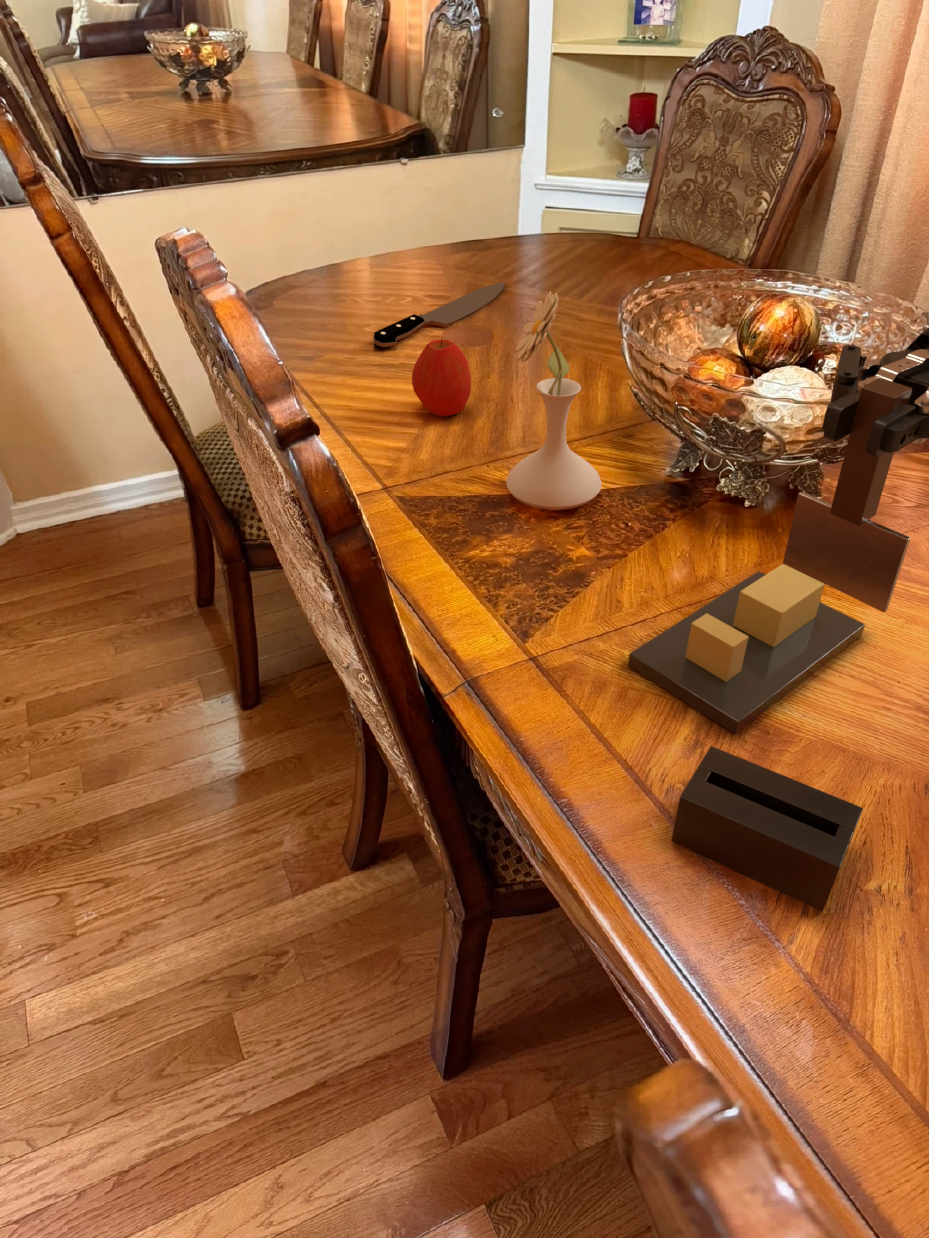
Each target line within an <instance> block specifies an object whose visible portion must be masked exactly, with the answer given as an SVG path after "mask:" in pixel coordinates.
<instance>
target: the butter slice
mask: <svg viewBox="0 0 929 1238" xmlns="http://www.w3.org/2000/svg"><path fill="white" fill-rule="evenodd" d="M748 638H749V637H748V636H747V635H745V634H743V633H741V632H740V631H738V630H736V629H734V628H732V627H731V626H729V625H727V624H725V623H723V622H722V621H720V620H718V619H716V618H714V617H713V616H711V615H709V614H707V613H706V614H705V615H703V616H702V617H700V618H699V619H697V620H696V621H694V622H692V623H691V629H690V634H689V640H688V646H687V651H686V658H687V659H689V660H690V661H692V662H694V663H695V664H697V665H699V666H700V667H702V668H704V669H705V670H707V671H709V672H710V673H712V674H714V675H715V676H717V677H719V678H720V679H722V680H724V681H725V682H727V681H728V680H729V679H731V678H732V677H733V676H735V675H736V674H738V673H739V672H740V671H741V668H742V664H743V659H744V655H745V651H746V646H747V642H748Z"/></svg>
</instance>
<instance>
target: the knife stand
mask: <svg viewBox="0 0 929 1238" xmlns="http://www.w3.org/2000/svg"><path fill="white" fill-rule="evenodd" d="M863 810H864V807H862V806H859V805H857V804H855V803H852V802H851V801H847V800H845V799H842V798H840V797H837V796H835V795H833V794H830V793H827V792H825V791H822V790H821V789H817V788H816V787H813V786H811V785H808V784H805V783H803V782H801V781H798V780H795V779H793V778H791V777H788V776H786V775H784V774H781V773H779V772H776V771H774V770H771V769H769V768H766V767H764V766H762V765H759V764H757V763H754V762H752V761H750V760H747V759H744V758H742V757H739V756H736V755H734V754H732V753H729V752H727V751H725V750H722V749H719V748H717V747H715V746H712V745H710V746H709V748H708V749H707V751H706V753H705V754H704V757H703V758H702V760H701V761H700V763H699V764H698V766H697V768H696V769H695V771H694V773H693V775H692V776H691V778H690V780H689V781H688V782H687V784H686V786H685V787H684V789H683V791H682V793H681V795H680V796H679V799H678V805H677V810H676V814H675V820H674V825H673V830H672V835H671V839H670V840H671V842H672V843H674V844H676V845H678V846H680V847H682V848H684V849H687V850H688V851H691V852H693V853H696V854H698V855H699V856H702V857H704V858H706V859H708V860H710V861H713V862H714V863H717V864H719V865H721V866H723V867H725V868H727V869H729V870H731V871H734V872H735V873H738V874H740V875H742V876H745V877H747V878H749V879H751V880H753V881H756V882H757V883H759V884H761V885H763V886H765V887H768V888H770V889H772V890H775V891H777V892H779V893H781V894H783V895H785V896H787V897H790V898H791V899H793V900H795V901H798V902H800V903H802V904H804V905H806V906H808V907H811V908H812V909H815V910H817V911H819V912H822V913H823V912H824V911H825V908H826V905H827V903H828V901H829V900H828V899H829V897H830V895H831V892H832V889H833V887H834V884H835V882H836V880H837V877H838V874H839V872H840V869H841V867H842V864H843V862H844V859H845V856H846V854H847V851H848V849H849V846H850V844H851V842H852V839H853V836H854V834H855V831H856V828H857V826H858V823H859V821H860V818H861V816H862V813H863Z"/></svg>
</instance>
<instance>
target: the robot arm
mask: <svg viewBox="0 0 929 1238" xmlns="http://www.w3.org/2000/svg"><path fill="white" fill-rule="evenodd" d="M877 378H882V379H885V380H888V381H891V382H895V383H898V384H901V385H904V386H907V387H911V388H912V392H911V395H910V399H909V402H908V404H905V405H904V406H902V407H900V408H898V409H896V410H895V411H893V412H890V413H888V414H886V415H885V416H883V417H881V418H879V419H878V420H876V421H875V423H874V424H873V426H872V429H871V432H870V436H869V439H868V443H867V446H866V453H867V454H869V455H872V456H875V457H880V456H881V455H883V454H884V453H886V452H887V453H893V452H894V453H897V452H899V451H900V450H902V449H904V448H906V447H907V446H909V445H911V444H914V445H920V444H923V443H925V442H926V441H927V440H929V327H927V328H925V330H923V331H922V332H920V333H919V335H918V336H916V338H915V339H914V340H913V341H912V342H911V343H910V344H909V345H908V346H907V348H906V349H904V350H899V351H898V350H897V351H890V352H888V353H886V354H884V355H883V356H882V357H881V358H880V359H876V358H875V359H874V358H868V355H867V353H862V347H860V346H858V345H856V344H844V345H842V347H841V351H840V355H839V359H838V363H837V367H836V371H835V375H834V379H833V384H832V391H831V395H830V401H829V403H828V405H827V407H826V410H825V415H824V418H823V423H822V427H821V429H822V430H824V431H823V438H824V439H826V440H830V441H832V442H835V443H836V442H838V441H839V440H841V439H843V438H845V437H847V436H849V435H850V432H851V429H852V425H853V421H854V417H855V413H856V409H857V405H858V400H859V396H860V392H861V388H862V387H863V386H865V385H867V384H869V383H870V382H872V381H874V380H876V379H877Z"/></svg>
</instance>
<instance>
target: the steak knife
mask: <svg viewBox="0 0 929 1238" xmlns="http://www.w3.org/2000/svg"><path fill="white" fill-rule="evenodd" d="M505 284H506V281H503V282H498V283H494V284H490V285H487V286H484V287H480V288H478V289H476V290H473V291H471V292H469V293H467V294H465V295H463V296H460V297H458V298H455V299H453V300H452V301H449V302H447V303H445V304H443V305H441V306H438V307H437V308H434V309H432V310H431V311H428V312H426V313H420V314H419V315H417V314H416V313H413V314H411V315H408V316H407V317H405V318H402V319H400V320H398V321H396V322H394V323H391V324H388V325H386V326H385V327H383V328H380V329H378V330H376V331H375V332H373V337H372V342H373V343H372V344H373V348H375V349H377V350H386V349H392V348H394V347H396V346H397V343H398V342H400V341H402V340H404V339H406V338H409V337H410V336H412V335H413V334H415V333H417V332H418V331H420V330H421V329H422V328H423V327H424V326H425V325H433V326H437V327H442V328H448V327H449V326H450V325H451V324H454V323H455V322H457V321H459V320H461V319H462V318H465V317H466V316H469V315H471V314H473V313H475V312H476V311H478V310H479V309H481V308H483V307H484V306H486V305H487V304H489V303H490V302H492V301H493V300H494V299H496V298H497V297H498V296H499V295H500V293H502V292H503V289H504V287H505Z"/></svg>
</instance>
